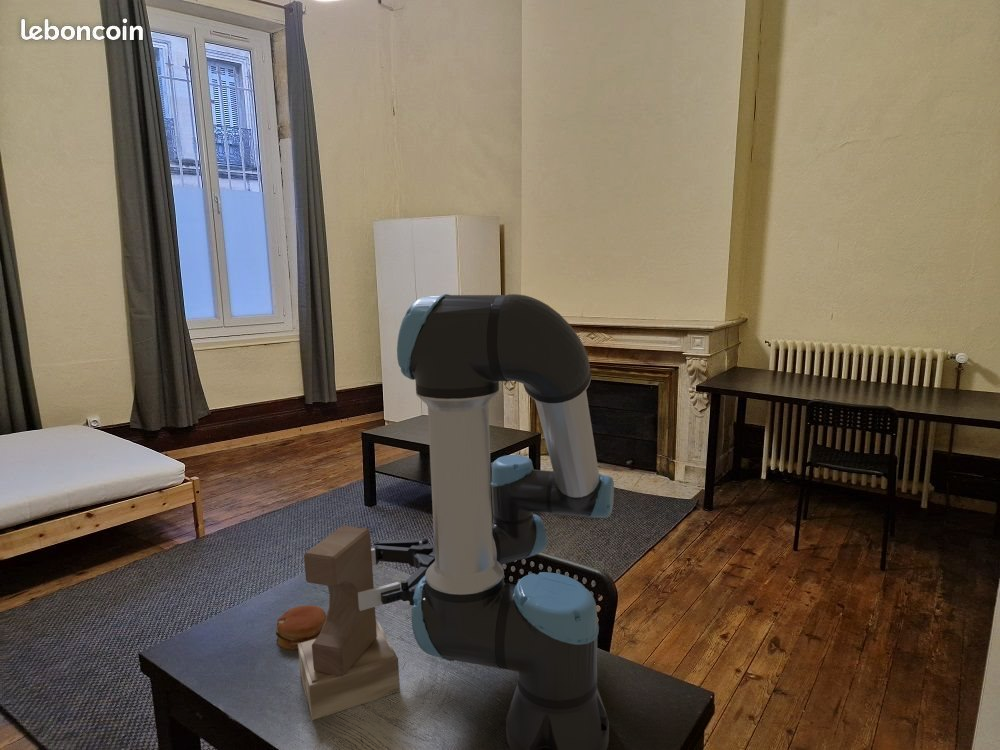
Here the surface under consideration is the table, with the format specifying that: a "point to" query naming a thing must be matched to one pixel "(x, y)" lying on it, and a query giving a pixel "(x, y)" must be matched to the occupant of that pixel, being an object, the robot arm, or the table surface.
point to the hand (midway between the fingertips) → (347, 582)
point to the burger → (299, 626)
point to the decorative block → (342, 598)
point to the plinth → (350, 678)
